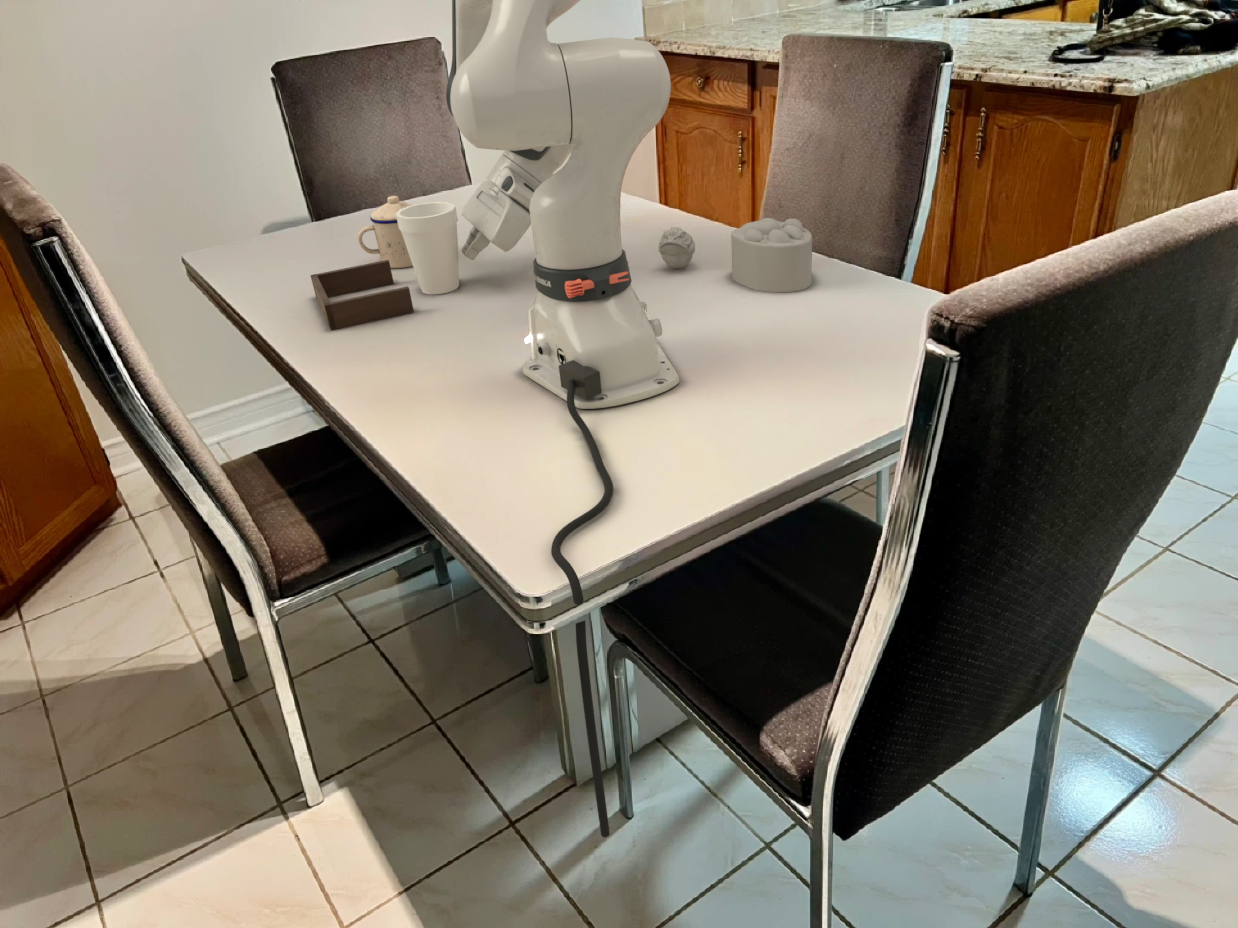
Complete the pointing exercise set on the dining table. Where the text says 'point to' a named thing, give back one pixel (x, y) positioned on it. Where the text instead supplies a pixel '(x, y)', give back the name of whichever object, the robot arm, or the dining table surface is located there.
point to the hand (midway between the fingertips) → (466, 256)
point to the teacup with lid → (388, 234)
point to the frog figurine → (676, 247)
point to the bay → (362, 306)
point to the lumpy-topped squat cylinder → (772, 255)
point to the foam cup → (432, 244)
